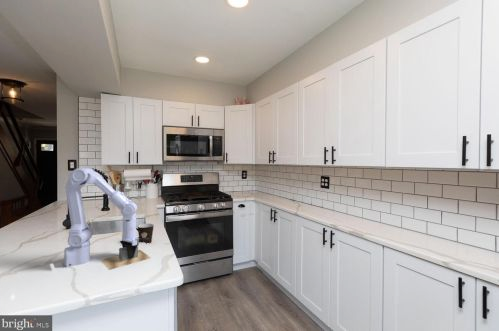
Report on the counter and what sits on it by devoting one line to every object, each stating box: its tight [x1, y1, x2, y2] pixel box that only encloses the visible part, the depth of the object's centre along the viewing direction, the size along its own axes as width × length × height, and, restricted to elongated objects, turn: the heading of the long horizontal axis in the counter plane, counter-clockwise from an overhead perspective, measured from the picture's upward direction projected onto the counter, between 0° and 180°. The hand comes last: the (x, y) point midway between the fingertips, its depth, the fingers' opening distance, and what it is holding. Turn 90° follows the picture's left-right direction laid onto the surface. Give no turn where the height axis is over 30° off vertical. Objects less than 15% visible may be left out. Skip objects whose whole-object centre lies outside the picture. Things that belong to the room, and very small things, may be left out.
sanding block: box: [118, 246, 139, 262], centre depth 112 cm, size 7×4×5 cm, turn 136°
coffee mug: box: [136, 223, 155, 245], centre depth 137 cm, size 12×9×10 cm
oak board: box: [100, 249, 152, 271], centre depth 111 cm, size 18×14×1 cm
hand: (129, 256), depth 112 cm, fingers closed on sanding block, 4 cm apart
